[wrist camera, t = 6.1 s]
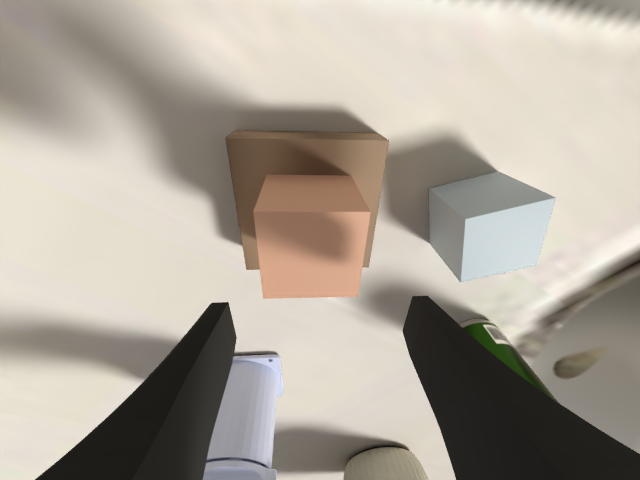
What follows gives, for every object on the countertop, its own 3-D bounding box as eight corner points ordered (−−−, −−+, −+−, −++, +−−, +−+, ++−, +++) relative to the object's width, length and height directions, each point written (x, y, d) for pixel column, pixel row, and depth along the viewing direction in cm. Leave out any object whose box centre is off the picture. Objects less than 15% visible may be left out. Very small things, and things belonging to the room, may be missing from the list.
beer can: (459, 314, 26) (559, 459, 16) (504, 318, 27) (625, 459, 17) (437, 346, 29) (510, 488, 19) (478, 349, 30) (570, 487, 20)
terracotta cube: (272, 246, 17) (263, 298, 13) (266, 174, 15) (253, 211, 11) (344, 245, 18) (357, 296, 14) (351, 175, 15) (370, 211, 11)
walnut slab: (251, 250, 21) (246, 269, 18) (235, 130, 16) (225, 137, 14) (361, 248, 21) (368, 267, 19) (377, 133, 16) (389, 140, 14)
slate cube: (429, 242, 21) (460, 282, 17) (428, 188, 19) (465, 219, 15) (489, 228, 21) (536, 265, 17) (497, 171, 18) (555, 197, 14)
